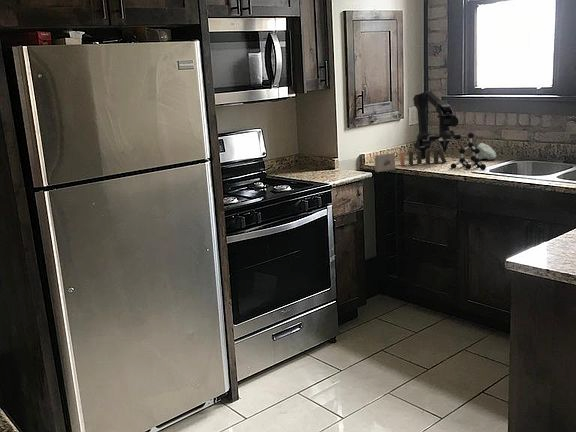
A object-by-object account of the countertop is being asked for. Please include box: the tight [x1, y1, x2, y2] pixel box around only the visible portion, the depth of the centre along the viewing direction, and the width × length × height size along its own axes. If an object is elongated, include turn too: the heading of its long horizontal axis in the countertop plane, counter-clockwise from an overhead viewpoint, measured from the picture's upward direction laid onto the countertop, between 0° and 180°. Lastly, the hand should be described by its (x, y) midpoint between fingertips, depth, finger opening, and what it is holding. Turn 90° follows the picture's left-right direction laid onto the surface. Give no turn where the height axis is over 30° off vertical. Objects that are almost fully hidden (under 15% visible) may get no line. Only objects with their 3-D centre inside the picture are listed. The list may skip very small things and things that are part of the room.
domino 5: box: [433, 149, 440, 165], centre depth 375 cm, size 2×5×8 cm, turn 179°
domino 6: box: [437, 148, 447, 164], centre depth 374 cm, size 2×5×8 cm, turn 179°
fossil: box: [374, 152, 396, 173], centre depth 362 cm, size 12×4×10 cm, turn 116°
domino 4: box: [424, 149, 431, 165], centre depth 375 cm, size 2×5×8 cm, turn 179°
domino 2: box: [408, 150, 414, 166], centre depth 375 cm, size 2×5×8 cm, turn 179°
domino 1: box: [399, 150, 406, 166], centre depth 375 cm, size 2×5×8 cm, turn 179°
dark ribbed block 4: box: [416, 149, 423, 165], centre depth 375 cm, size 2×5×8 cm, turn 179°
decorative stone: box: [476, 142, 497, 161], centre depth 377 cm, size 13×11×10 cm
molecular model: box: [450, 132, 487, 171], centre depth 354 cm, size 18×20×20 cm
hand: (444, 151), depth 374 cm, fingers closed
